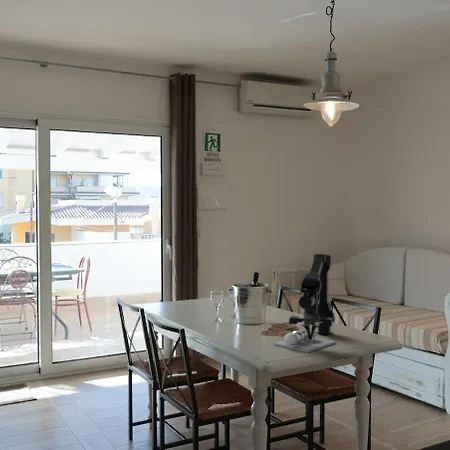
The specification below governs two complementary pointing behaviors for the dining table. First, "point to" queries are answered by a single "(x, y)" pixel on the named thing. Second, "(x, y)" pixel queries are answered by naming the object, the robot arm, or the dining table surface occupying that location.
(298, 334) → the elbow
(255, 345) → the dining table surface
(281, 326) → the fossil
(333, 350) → the dining table surface
